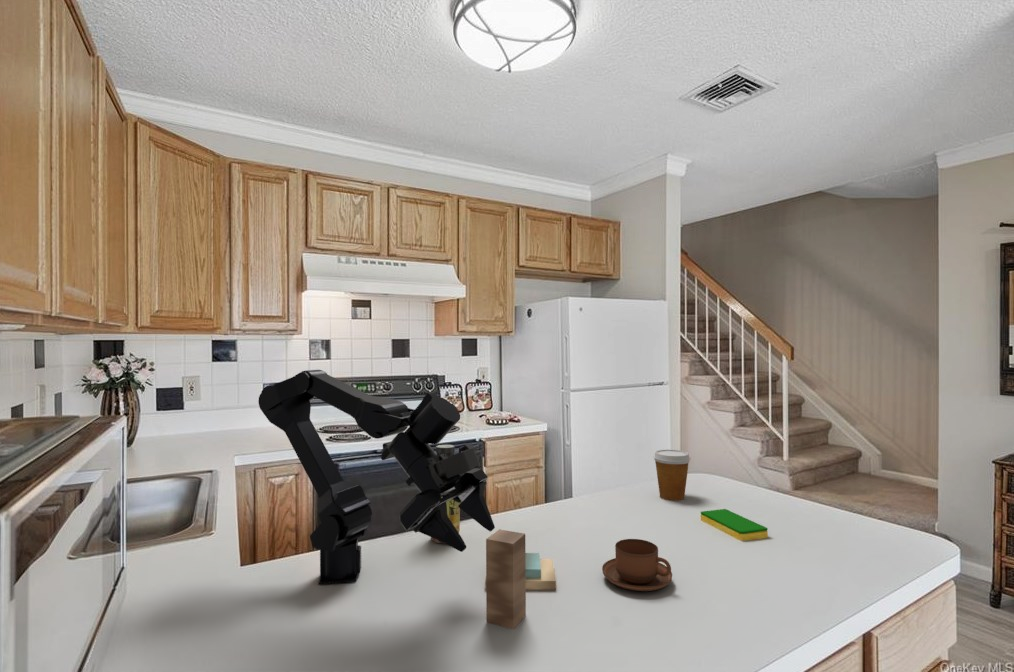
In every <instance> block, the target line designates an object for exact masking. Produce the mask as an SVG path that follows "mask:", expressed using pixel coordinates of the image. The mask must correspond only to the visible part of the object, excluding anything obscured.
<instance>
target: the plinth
mask: <svg viewBox="0 0 1014 672" xmlns="http://www.w3.org/2000/svg"><path fill="white" fill-rule="evenodd" d="M525 554H526V591H527V590H536V591H537V590H538V591H539V590H540V591H542V590H547V591H553V590H555V591H556V590H557V580H556V573H555V567H554V559H553V558H541V556H540V553H539V552H525ZM484 588H485V590H486V579H485V587H484Z"/></svg>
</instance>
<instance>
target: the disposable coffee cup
mask: <svg viewBox="0 0 1014 672" xmlns="http://www.w3.org/2000/svg"><path fill="white" fill-rule="evenodd" d="M653 459H654V462H655V467H656V468H655V469H656V476H657V485H658V492H659V497H660V498H661V499H663V500H667V501H678V502H679V501H683V500H685V497H686V496H685V495H686V486H687V479H688V471H689V463H690V461H691V457H690V455H689V452H686V451H685V450H679V449H670V448H669V449H668V448H667V449H657V450H655V452H654V455H653Z"/></svg>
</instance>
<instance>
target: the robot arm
mask: <svg viewBox="0 0 1014 672" xmlns="http://www.w3.org/2000/svg"><path fill="white" fill-rule="evenodd" d="M315 398H317V399H318V400H320V401H322V402H324V403H326V404H328V405H330V406H332V407H333V408H335V409H338V410H339V411H340V412H341V411H342V412H343V413H345V414H347V415H348V416H350V417H351V418H353V419H354V420H355V422H356V423H355V424H356V425H357V426H358V428H359V429H361V430H362V431H363V432H365V433H366V434H367V435H368V436H369V437H371V438H374V439H382V438H387V437H390V436H395V437H393V438H392V440H391V441H389V442H384V443H383V444H382V450H381V456H380V458H381V461H386V460H389V459H392V458H394V459H395V460H396V462H397V463H398V464H399V465H400V467H401V468H402V470H403V472H404V473H406V475H407V476H408V478H407V479H406V480H405V483H406V484H407V486H408V487H411V486H413V485H414V486H415V487H416V488H417V490H418V491H419V493H417V494H416V495H414V497H412V499H411V500H410V501H409V502H408V503H407V504H406V505H405V506H404V508H403V509H402V510H401V511H400V512H399V523H400V525H402V527H403V529H405V531H406V532H408V531H410V530H412V529H413V532H414V533H418V532H419V533H421V534H423V535H425V536H428V537H430V538H431V537H432V538H435V539H437V540H439V541H441V542H443V543H442V544H444V543H445V545H447V546H449V547H450V548H453V549H455V550H457V551H459V552H463V551H465V550H466V549H467V544H466V543H465V541H464V539H463V537H462V536H461V535H460V532H459V533H458V531H457V530H456V528H455V527H454V525H453V524H452V522H451V520H450V519H449V518H448V515H447V503H446V502H447V501H449V500H451V499H453V500H454V501H456V502H458V503H460V505H459V506H458V507H459V508H460V510H461V511H463V512H464V513H465V514H466V515H468V516H469V517H470V518H472V520H474V522H477V523H478V524H479V525H480V526H482V527H483V528H484V529H485V530H487V531H488V532H492V531H493V530H494V529H495V528H496V527H495V523H494V520H493V517H492V516H491V513H490V511H489V508H488V505H487V502H486V498H485V488H486V486H487V484H488V483H487V480H488V478H489V476H488V475H487V474H486V473H485V471H484V470H483V469H482V468H480V466H481V463H480V458H481V455H482V452H481V451H480V450H478V449H477V447H476V446H474V445H473V444H472V442H470V443H467V444H465V445H463V446H460V447H459V448H458V453H456V454H455V453H454V455H453V456H451V457H449V458H448V457H447V456H446V455H445V454H442V453H441V454H439V455H437V454H436V451H435V450H434V449H433V448H432V446H431V445H438V444H439V443H440V442H441V441H442V440H443V439H444V438H445V437H446V436H447V434H449V433H450V431H451V430H452V429H453V428H454V427H455V425H456V424H458V423H459V421H460V419H461V414H460V411H459V410H458V408H457V407H456V405H455V404H453V403H451V402H450V401H448V400H447V399H445V398H444V397H442V396H439V395H438V394H437V393H436V392H435V391H432V392H427V393H426V394H425V395H424V396H423V398H422V400H421V402H420V403H419V404H418V405H417V406H416V408H410V407H408V406H407V405H406V403H404V402H403V401H401V400H397V399H392V398H389V397H382V396H374V395H370V394H368V393H365V392H364V391H362V390H360V389H357V388H356V387H353V386H352V385H349V384H347V383H345V382H343V381H341V380H339V379H337V378H336V377H333V376H332V375H329V374H328V373H327V372H326V371H324V370H322V369H310V370H309V369H307V370H302V371H300V372H299V373H297V374H295V375H293V376H292V377H289V378H286V379H284V380H282V381H279V382H277V383H274V384H271V385H270V384H269V385H266V386H265V387H263V388H262V390H261V392H260V394H259V396H258V402H257V403H258V406H259V407H258V408H259V409H260V410H261V412H262V413H263V415H264V416H265V417H266V419H267V420H268V422H269V423H270V424H272V425H274V426H275V427H277V428H279V429H280V430H281V431H283V432H284V433H285V435H286V437H287V439H288V441H289V442H290V445H291V446H292V448H293V451H294V453H295V454H296V456H297V458H298V459H299V462H300V464H301V466H302V467H303V469H304V471H305V473H306V475H307V476H308V479H309V481H310V482H311V485H312V486H313V488H314V490H315V492H316V494H317V496H318V509H317V515H318V519H319V522H320V524H319V525H318V526H317V527H316V528H315V529H314V531H313V532H312V533H310V535H309V538H310V543H311V545H312V549H313V548H314V549H318V550H319V578H318V580H317V583H318V585H328V584H329V585H330V584H343V583H353V582H356V581H357V580H358V575H359V574H360V573H361V570H362V545H359V538H362V537H365V536H366V532H367V529H368V527H369V526H370V524H371V521H372V516H373V511H372V508H371V506H370V504H372V501H370V499H368V497H367V496H366V494H365V492H364V489H363V486H361V485H360V484H357V485H354V486H351V485H350V484H348V483H346V482H345V480H344V479H343V476H342V475H341V473H340V472H339V470H338V468H337V466H336V464H335V463H334V461H333V459H332V457H331V455H330V453H329V451H328V450H327V448H326V445H325V444H324V442H323V441H322V439H321V437H320V435H319V433H318V431H317V430H316V428H315V426H314V424H313V422H312V420H311V417H310V416H311V409H312V404H311V400H313V399H315ZM478 467H479V468H478ZM457 480H458V481H457ZM449 493H450V494H449ZM441 497H443V498H441Z"/></svg>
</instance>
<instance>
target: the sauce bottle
mask: <svg viewBox="0 0 1014 672" xmlns="http://www.w3.org/2000/svg"><path fill="white" fill-rule="evenodd" d="M455 447H456V446H455V445H453V444H439V445H438V444H437V445H436V446H435V453H436V454H437V455H439V454H441V453H442V454H445V455H446V456H447V457H448V458H449V457H451V456H453V455H455V452H456V449H455ZM457 481H458V480H457ZM449 494H450V493H449ZM441 498H443V497H441ZM446 503H447V515H448V518H449V519H450V520H451V522H452V524H453V525H454V527H455V528H456V530H457V531H458V533H459V534H460V529H461V528H460V525H461V522H460V519H461V516H460V515H461V514H460V513H461V509H460V508H459V507H458V506H459V505H460V504H461V502H460V503H458V502H456V501H454V500H453V499H451V500H449V501H447V502H446ZM430 539H431V540H432V542H433V543H435V544H436V543H437V544H445V543H443V542H441V541H439V540H437V539H435V538H432V537H430ZM445 545H446V544H445Z"/></svg>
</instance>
